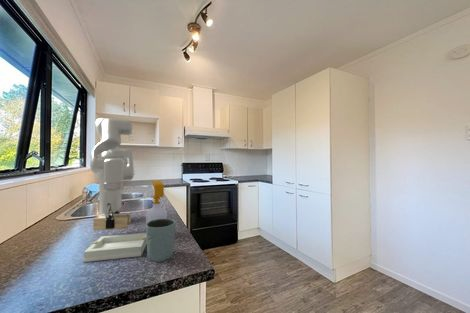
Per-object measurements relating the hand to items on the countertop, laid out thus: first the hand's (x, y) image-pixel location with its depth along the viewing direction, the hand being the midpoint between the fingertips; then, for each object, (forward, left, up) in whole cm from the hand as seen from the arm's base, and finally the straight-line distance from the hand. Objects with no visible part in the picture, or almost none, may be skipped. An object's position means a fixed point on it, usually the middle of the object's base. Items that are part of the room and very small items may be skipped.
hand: (112, 225), depth 89 cm
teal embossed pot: (+24, +23, -5) cm, 34 cm away
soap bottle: (+2, +19, -5) cm, 20 cm away
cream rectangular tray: (+15, +7, -5) cm, 18 cm away
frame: (0, 0, -1) cm, 1 cm away
